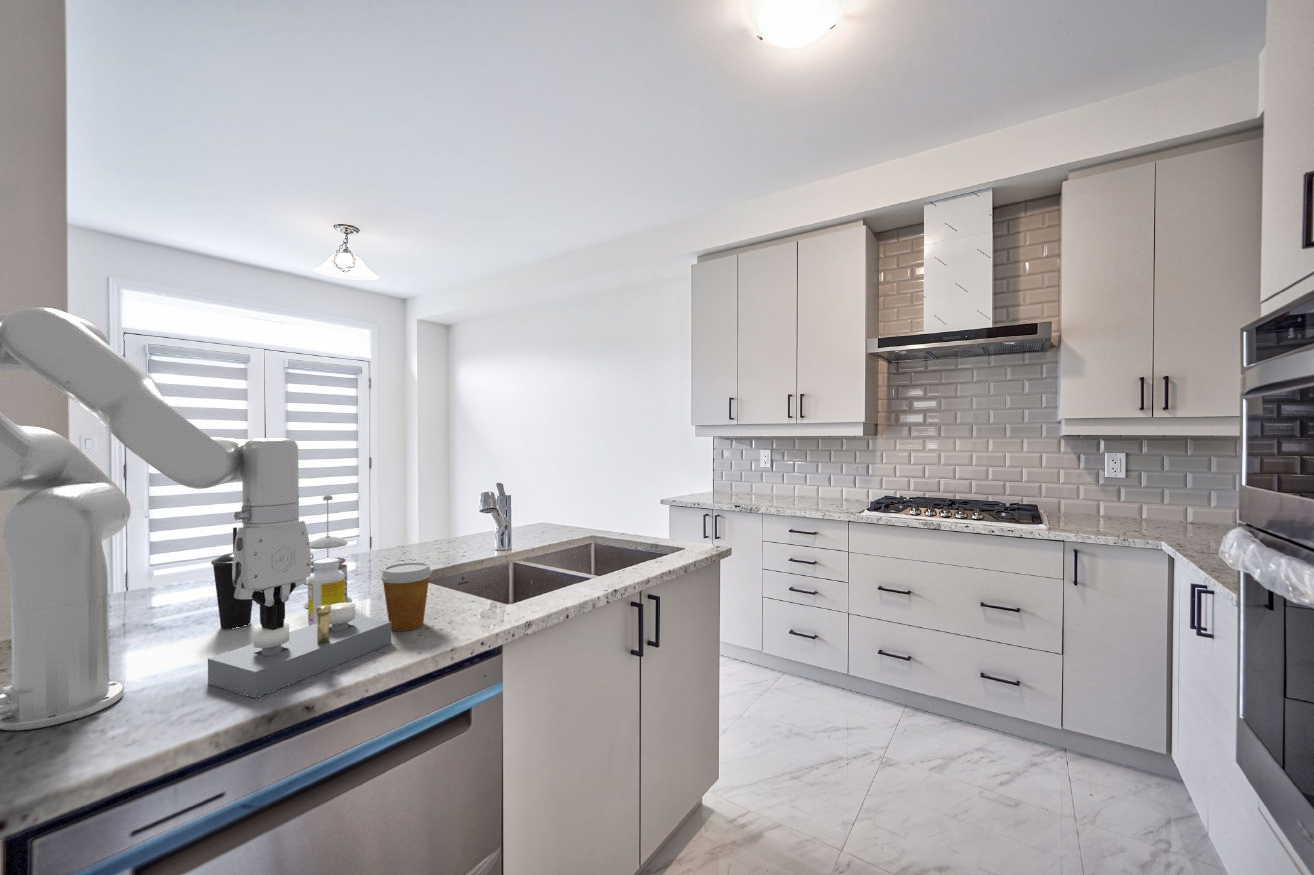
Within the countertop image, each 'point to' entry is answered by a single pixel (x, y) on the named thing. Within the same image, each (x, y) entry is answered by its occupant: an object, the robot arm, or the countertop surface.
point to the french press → (325, 544)
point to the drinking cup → (229, 593)
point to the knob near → (270, 639)
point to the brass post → (323, 623)
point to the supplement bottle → (325, 586)
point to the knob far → (341, 615)
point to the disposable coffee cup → (406, 594)
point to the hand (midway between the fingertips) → (272, 627)
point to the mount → (295, 657)
